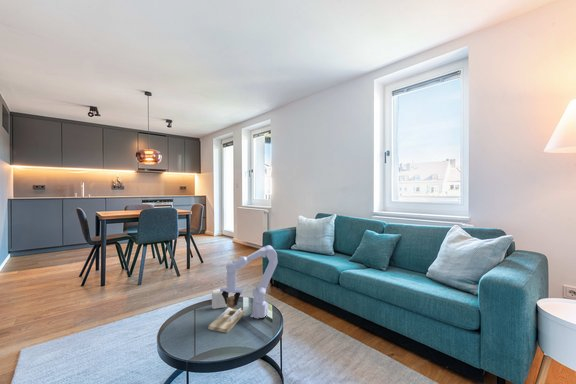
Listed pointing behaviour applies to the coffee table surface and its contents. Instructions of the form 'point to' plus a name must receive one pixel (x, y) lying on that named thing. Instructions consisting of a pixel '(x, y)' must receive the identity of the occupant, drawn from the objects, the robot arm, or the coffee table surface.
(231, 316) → the channel
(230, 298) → the walnut block
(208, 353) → the coffee table surface
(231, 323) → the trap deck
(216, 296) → the photo printer
